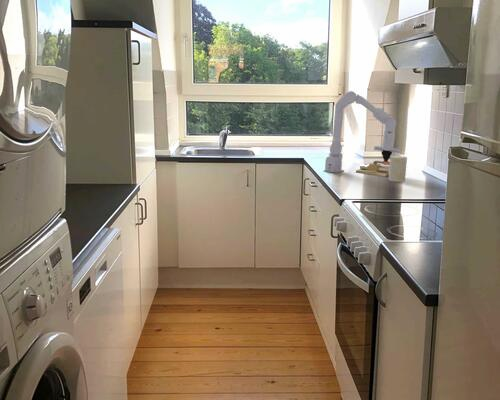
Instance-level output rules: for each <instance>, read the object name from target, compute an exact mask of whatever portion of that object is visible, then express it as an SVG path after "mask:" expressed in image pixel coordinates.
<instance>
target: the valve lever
mask: <svg viewBox="0 0 500 400" xmlns="http://www.w3.org/2000/svg"><path fill="white" fill-rule="evenodd" d="M372 163H373V164H381V165H384V166H390V161H389V160H388V161H384V160H383V161H381V160H372Z"/></svg>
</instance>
